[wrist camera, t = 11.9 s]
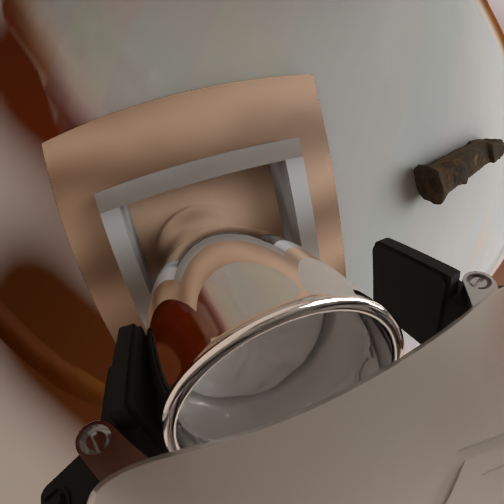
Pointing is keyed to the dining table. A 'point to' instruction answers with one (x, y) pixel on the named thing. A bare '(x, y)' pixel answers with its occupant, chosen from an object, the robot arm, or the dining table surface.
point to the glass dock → (192, 180)
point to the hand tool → (455, 168)
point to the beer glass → (252, 329)
